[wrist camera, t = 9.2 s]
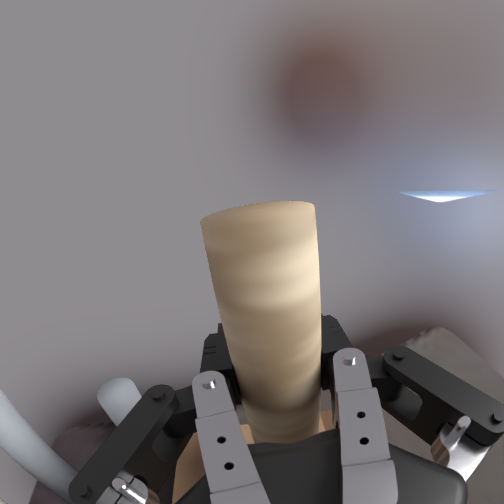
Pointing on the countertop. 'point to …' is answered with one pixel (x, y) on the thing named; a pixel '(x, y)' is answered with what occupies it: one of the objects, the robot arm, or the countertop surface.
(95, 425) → the countertop surface
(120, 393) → the short grey dowel
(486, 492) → the countertop surface
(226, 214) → the beech dowel
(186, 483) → the wooden board with hole
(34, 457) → the tall grey dowel
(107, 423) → the countertop surface
